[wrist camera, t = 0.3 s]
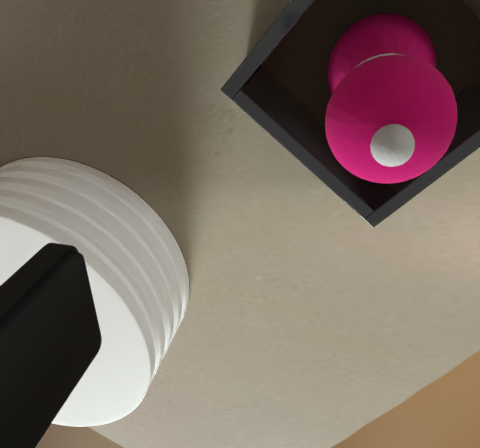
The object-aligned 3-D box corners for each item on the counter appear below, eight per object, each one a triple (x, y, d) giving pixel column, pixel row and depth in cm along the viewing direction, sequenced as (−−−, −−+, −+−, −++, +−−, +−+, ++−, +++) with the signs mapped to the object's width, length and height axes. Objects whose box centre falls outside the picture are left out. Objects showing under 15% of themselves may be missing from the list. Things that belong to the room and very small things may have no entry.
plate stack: (79, 108, 43) (-2, 152, 33) (235, 317, 52) (207, 398, 42) (-70, 218, 55) (-160, 273, 46) (77, 371, 64) (28, 443, 55)
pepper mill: (330, 11, 34) (300, 65, 17) (433, 2, 32) (511, 53, 15) (330, 106, 37) (306, 227, 21) (423, 103, 36) (477, 232, 19)
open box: (387, -110, 29) (394, -130, 23) (531, 49, 32) (576, 74, 25) (245, 66, 37) (220, 89, 31) (371, 182, 40) (373, 228, 33)
